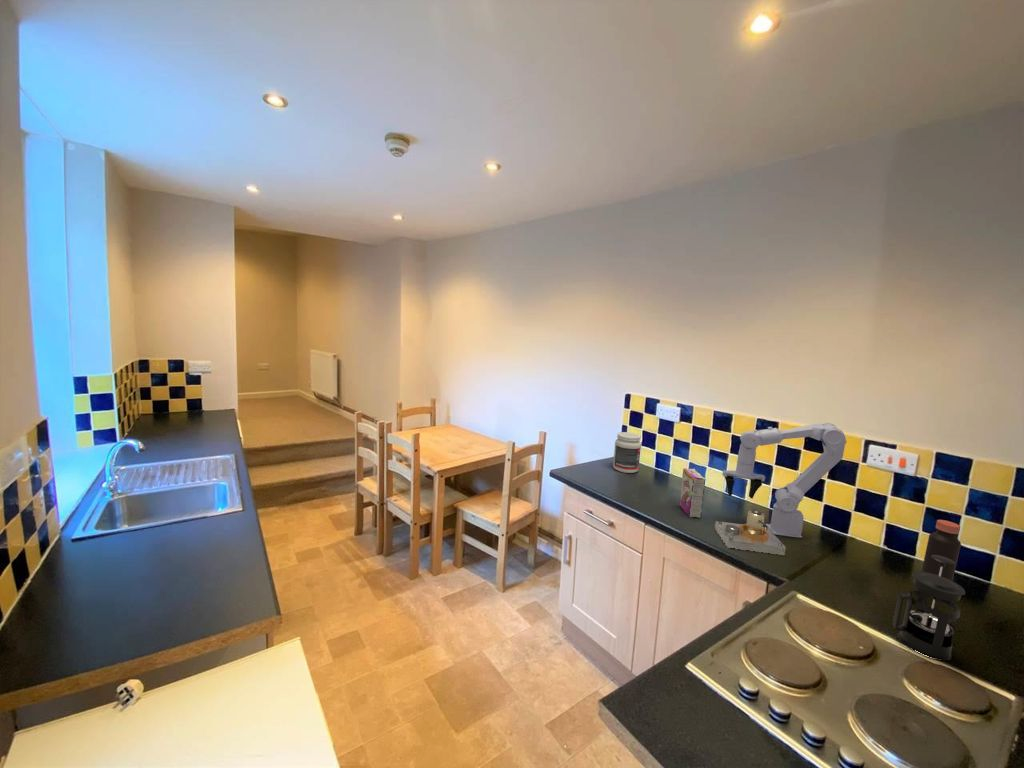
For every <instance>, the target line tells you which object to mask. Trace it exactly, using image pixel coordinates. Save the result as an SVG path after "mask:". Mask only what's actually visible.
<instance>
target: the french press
mask: <svg viewBox="0 0 1024 768" xmlns="http://www.w3.org/2000/svg"><path fill="white" fill-rule="evenodd" d="M931 558H932V559H934V560H936V561H938V562H940V563H939V566H941V567H940V572H939V575H935V574H932V573H928V572H921V571H914V572H912V574H911V575H912V578H913V585H914V587H915V589H910V590H909V591H908V593H907V594H906V593H901V592H899V593H898V596H897V600H896V606H895V609H894V614H893V619H892V620H893V621H892V626H893V627H894V629H896V630H898V631H899V632H898V633H897V636H898V639H899V641H900V642H901V643H902V642H903V643H902V644H904V645H905V646H906V645H907V646H908V647H907V646H906V647H907V648H909V647H910V648H912V649H913V650H916V651H918V652H920V653H922V654H924V655H927V656H929V657H932V658H937V659H941V660H948V661H950V660H951V659H952V650H953V647H954V646H953V639H954V635H955V632H956V627H957V622H958V619H959V618H960V617H961V612H962V611H961V608H960V607H959V606H958V605H957V604H956V603H954V602H959V601H960V600H961V598H962V596H965V594H966V590H965V589H964V588H963V586H962V585H960V584H959V583H957V582H955V581H954V580H953V581H951V580H949V579H947V578H944V577H942V576H941V573H942V568H943V567H945V564H947V565H956V566H957V564H956V563H955V562H954V561H952V560H951V559H948V558H946V557H943V556H939V555H931ZM912 595H913V596H914V595H916V596H917V595H918V596H917V599H916V598H914V597H913V596H912ZM928 598H931V599H932V603H931V607H930V606H927V602H928V601H927V600H928ZM904 599H907V602H906V607H905V611H904V616H903V621H902V622H901V625H899V620H900V616H901V612H902V608H903V603H904ZM936 601H939V602H941V603H942V604H945V605H947V606H948V607H950V608H951V609H952V612H946V611H941V610H938V609H935V603H936ZM913 605H914V606H915V608H914V609H915V610H912V607H913ZM949 620H950V621H949ZM948 622H949V624H948ZM917 636H918V637H921V638H924V639H926V640H928V641H930V642H932V643H930V642H929V643H928V642H927V641H924V640H922V639H920V638H918V637H917ZM910 648H909V649H910ZM912 649H911V650H912ZM913 650H912V651H913Z"/></svg>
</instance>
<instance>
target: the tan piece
mask: <svg viewBox="0 0 1024 768" xmlns="http://www.w3.org/2000/svg"><path fill="white" fill-rule="evenodd" d="M747 511H748V512H747V518H746V523H745V524H746V529H745V531H747V532H749V533H751V534H755V535H761V534H762V528H763V527H764V526H766V524H767V523H766V522H765V516H766V515H765V513H763V511H762V510H761V509H757V508H751V509H749V510H747Z"/></svg>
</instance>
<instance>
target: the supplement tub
mask: <svg viewBox="0 0 1024 768" xmlns="http://www.w3.org/2000/svg"><path fill="white" fill-rule="evenodd" d="M616 437H617V439H615V442H614V451H613V461H612V462H613V463H612V466H613V469H615V470H616V471H618V472H620V473H623V474H624V473H627V474H634V473H636V472H638V471H639V467H640V461H641V460H640V458H641V450H642V449H641V448H642V443H641V435H639V434H638V433H634V432H628V431H621V432H618V433H617V436H616Z"/></svg>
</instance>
